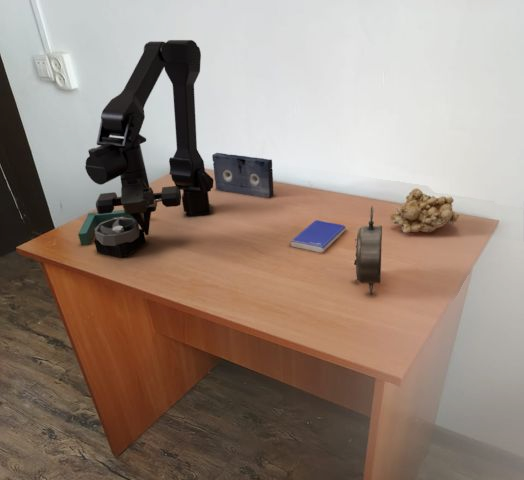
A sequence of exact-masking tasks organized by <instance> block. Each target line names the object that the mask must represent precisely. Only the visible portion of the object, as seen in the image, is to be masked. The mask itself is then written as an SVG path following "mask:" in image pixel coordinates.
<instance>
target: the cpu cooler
mask: <svg viewBox="0 0 524 480" xmlns="http://www.w3.org/2000/svg"><path fill="white" fill-rule="evenodd" d="M94 235H95V237H93V243H94V245H95V249H96V253H98V254H103V255H108V256H113V257H117V258H124V257H129V256H130V255H131V254H132V253H134V252H135V251H137V250H139V248H141V247H142V246H144V245H145V244H147V241H146V237H145V236H146V235H145V233H144V231H143V230H142V228H140V225H139V224H138V222H137V221H135V220H134V219H132V218H124V217H117V218H113V219H111V220H108V221H105V222H102V223H100V224H99V225H98V226H97V227H96V228H95V233H94Z"/></svg>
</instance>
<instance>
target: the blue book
mask: <svg viewBox="0 0 524 480" xmlns="http://www.w3.org/2000/svg"><path fill="white" fill-rule="evenodd" d="M345 231H346V226H345V225H344V224H340V223H333V222H328V221H323V220H314V221H313V222H311V224H309V225H308V226H307V227H305V228H304V229H303V230H302V231H301V232H300V233H298V234H297V235H296V236H295V237H294V238H292V239H291V240H290V246H291V247H293V248H297V249H302V250H306V251H311V252H316V253H319V254H320V253H324V252H325V251H326V250H327V249H328V248H329V247H330V246H331V245H332V244H333V243H334V242H335V241H336V240H337V239H338V238H339V237H340V236H342V234H343V233H345Z"/></svg>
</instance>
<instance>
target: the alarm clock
mask: <svg viewBox="0 0 524 480" xmlns="http://www.w3.org/2000/svg"><path fill="white" fill-rule="evenodd" d="M369 216H370V217H369V218H370V220H369V221H368V225H362V226H361V227H360V228H359V229H358V231H357V235H356V238H355V239H354V240H355V242H356V245H355V248H356V249H355V259H354V262H353V265H354V266H355V276H356V279H355V280H354V283H357V282H358V283H360V284H368V285H369V287H368V288H369V292H368V294H369V295H370V296H372V295H373V290H374V284H380V283H381V279H382V278H381V277H382V276H381V275H382V274H381V273H382V243H383V242H382V241H383V225H374V223H375V222H374V220H373V219H374V205H371V206H370V215H369Z"/></svg>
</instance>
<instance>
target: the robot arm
mask: <svg viewBox="0 0 524 480" xmlns="http://www.w3.org/2000/svg"><path fill="white" fill-rule="evenodd" d="M201 53H202V52H201V49H200V46H198V44H197V42H195V40H192V39H169V40H167V41H148V42H146V43H145V44H144V46H143V52H142V54H141V56H140V58H139V60H138V62H137V64H136V65H135V68H134V69H133V71H132V73H131V75H130V77H129V79H128V81H127V82H126V84H125V86H124V88H123V90H122V91H121V92H120V93H119V94H117V95H116V96H115V97H113V98H111V99H110V100H109V102H108V103H107V104H106V105H105V107H104V108H103V109H102V111H101V115H100V119H101V120H100V125H99V129H98V134H97V139H96V147H92V148H90V149H88V150H87V151H88V152H87V153H88V155H89V156H87V158H86V160H85V166H84V169H85V171H86V173H87V176H88V177H89V179H91V181H92V182H93V183H95V184H96V185H104V184H106V183H109V182H111V181H112V180H115V179H117V178H118V177H120V184H121V188H120V189H121V190H120V193H121V195H120V196H118V194H117V193H116V192H114V191H113V192H103V193H100V194H99V195H98V197H97V200H96V201H95V208H96V212H98V214H106V213H112V211H115V207H121V206H122V208H123V210H124V213H125V214H129V215H131V216H133V217H134V219H135V220H136V221H137V222H138V225H139V228H140V229H142V230H143V231H144V235H145V236H149V234H150V225H151V217H152V213H153V212H156V210H157V207H158V202H159V203H162V205H163V206H164V207H165V208H171V207H179V206H181V204H182V208H183V212H184V213H185V216H186V217H195V216H205V215H207V216H208V215H211V204H210V197H209V192H212V189H213V188H214V178H213V177H212V176H211V175H210V174H209V173H207V172H206V169H205V162H204V159H203V157H202V155H201V153H200V152H199V150H198V144H197V143H198V142H197V141H198V140H197V123H196V121H197V120H196V103H195V102H196V99H195V98H196V97H195V84H196V81H197V79H198V77H199V75H200V72H201V62H202V61H201V59H202V54H201ZM163 70H164V71H165V74H166V75H167V77H168V79H169V81H170V83H171V84H172V96H173V97H172V98H173V112H174V128H175V142H176V151H175V152H174V155H173V157H169V160H168V164H169V175H170V176H171V180H172V182H173V183H174V185H172V186H163V187H161V188H162V189H161V191H160V192H154V190H153V188H152V187H151V186H150V183H149V179H148V174H147V169H146V165H145V159H144V155H143V150H142V146H141V144H144V143H145V142H147V138H146V137H145V136H143V135H141V134H140V133H141V129H142V127H143V124H144V122H145V117H146V115H145V106H146V103H147V102H148V99H149V98H150V95H151V93H152V91H153V90H154V88H155V86H156V84H157V82H158V80H159V78H160V76H161V74H162V72H163ZM181 191H182V192H181Z"/></svg>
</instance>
